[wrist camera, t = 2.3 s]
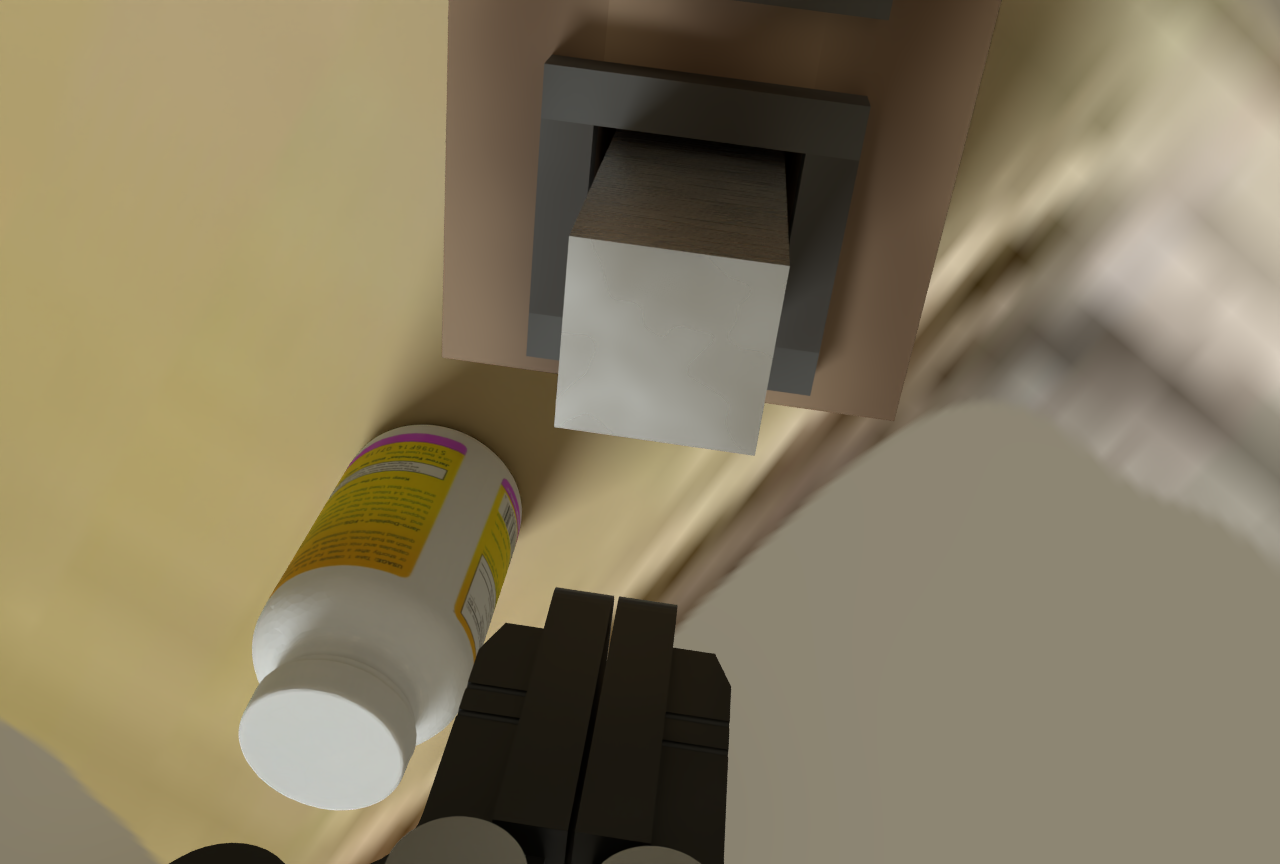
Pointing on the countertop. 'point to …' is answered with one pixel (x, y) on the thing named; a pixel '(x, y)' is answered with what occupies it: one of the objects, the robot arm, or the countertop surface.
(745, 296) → the grey metal peg
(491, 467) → the supplement bottle
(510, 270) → the walnut block
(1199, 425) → the countertop surface
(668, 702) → the robot arm
